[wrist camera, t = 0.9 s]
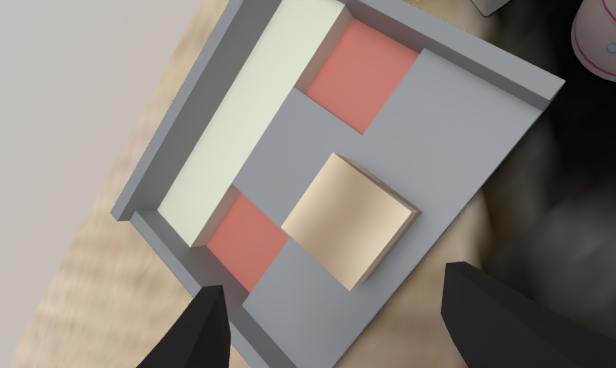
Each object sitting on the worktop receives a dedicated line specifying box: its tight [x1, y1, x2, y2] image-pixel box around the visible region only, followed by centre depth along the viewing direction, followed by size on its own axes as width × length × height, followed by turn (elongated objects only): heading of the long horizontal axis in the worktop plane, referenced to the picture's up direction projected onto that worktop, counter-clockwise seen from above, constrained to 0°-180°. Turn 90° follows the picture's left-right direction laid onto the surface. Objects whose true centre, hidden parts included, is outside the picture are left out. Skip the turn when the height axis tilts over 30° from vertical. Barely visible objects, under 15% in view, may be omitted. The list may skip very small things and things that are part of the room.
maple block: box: [281, 152, 422, 291], centre depth 20 cm, size 5×5×4 cm
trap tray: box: [110, 0, 565, 368], centre depth 23 cm, size 18×22×5 cm
